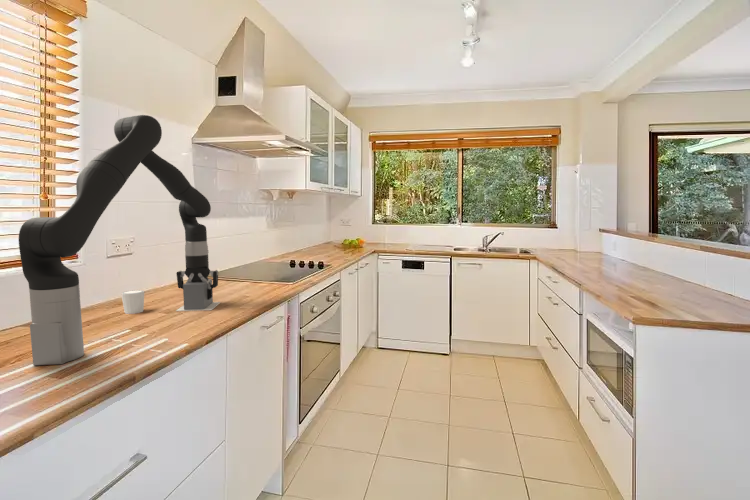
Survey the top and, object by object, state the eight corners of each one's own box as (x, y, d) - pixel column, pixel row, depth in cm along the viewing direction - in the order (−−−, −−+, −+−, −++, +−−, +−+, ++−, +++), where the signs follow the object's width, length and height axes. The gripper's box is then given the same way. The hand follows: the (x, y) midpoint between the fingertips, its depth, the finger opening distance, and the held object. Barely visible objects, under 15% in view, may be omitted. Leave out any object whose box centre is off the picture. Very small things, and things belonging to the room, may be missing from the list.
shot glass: (135, 314, 138) (133, 294, 137) (117, 313, 139) (116, 293, 138) (150, 309, 144) (149, 290, 144) (133, 308, 146) (132, 289, 145)
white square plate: (211, 310, 144) (211, 309, 144) (175, 311, 142) (175, 310, 142) (220, 302, 156) (220, 301, 156) (187, 303, 154) (187, 302, 154)
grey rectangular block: (204, 309, 144) (203, 284, 143) (184, 309, 143) (182, 284, 142) (212, 302, 155) (211, 279, 154) (193, 302, 154) (192, 279, 153)
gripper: (171, 255, 143) (174, 302, 144) (214, 254, 144) (216, 301, 146) (179, 252, 150) (181, 297, 152) (220, 252, 152) (222, 296, 153)
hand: (198, 299), depth 149 cm, fingers closed on grey rectangular block, 6 cm apart
